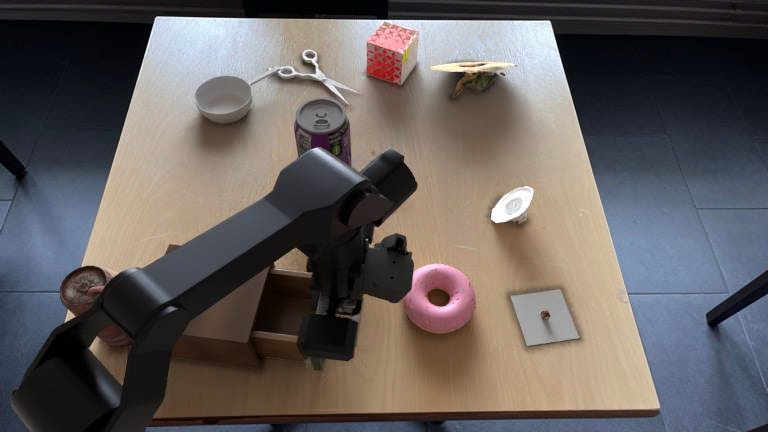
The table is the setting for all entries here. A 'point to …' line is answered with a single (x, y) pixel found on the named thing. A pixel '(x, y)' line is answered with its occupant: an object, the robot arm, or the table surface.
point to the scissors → (314, 75)
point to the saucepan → (227, 96)
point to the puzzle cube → (392, 52)
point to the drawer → (285, 316)
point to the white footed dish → (513, 205)
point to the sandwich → (474, 73)
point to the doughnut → (432, 315)
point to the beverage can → (323, 128)
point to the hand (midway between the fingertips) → (342, 309)
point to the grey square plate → (544, 317)
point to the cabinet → (225, 327)
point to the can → (90, 300)
